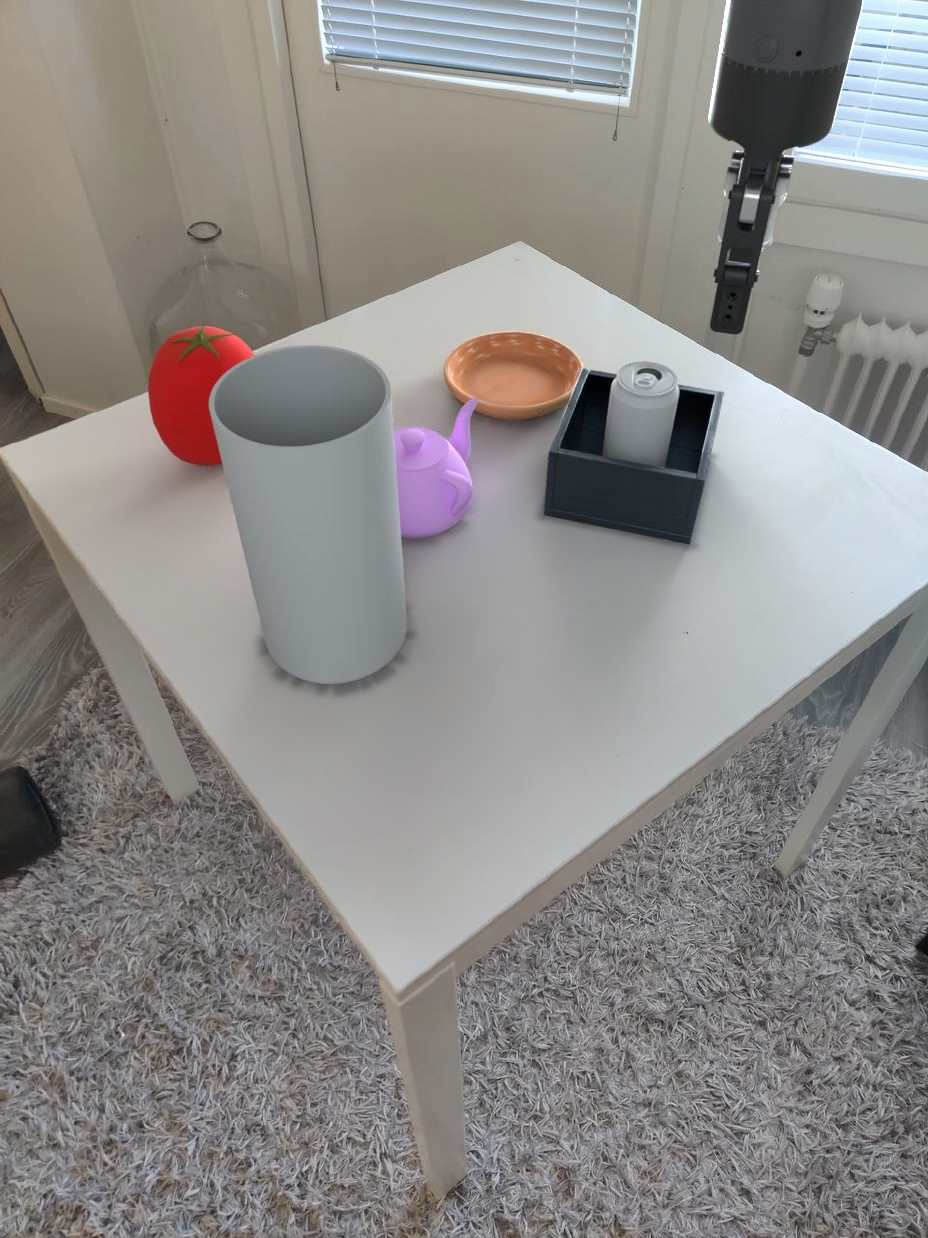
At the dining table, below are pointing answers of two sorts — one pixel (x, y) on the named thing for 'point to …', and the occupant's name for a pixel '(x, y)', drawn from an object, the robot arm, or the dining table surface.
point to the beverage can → (641, 413)
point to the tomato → (191, 389)
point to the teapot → (433, 476)
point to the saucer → (513, 374)
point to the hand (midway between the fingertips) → (733, 301)
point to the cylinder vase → (316, 506)
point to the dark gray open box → (630, 466)
